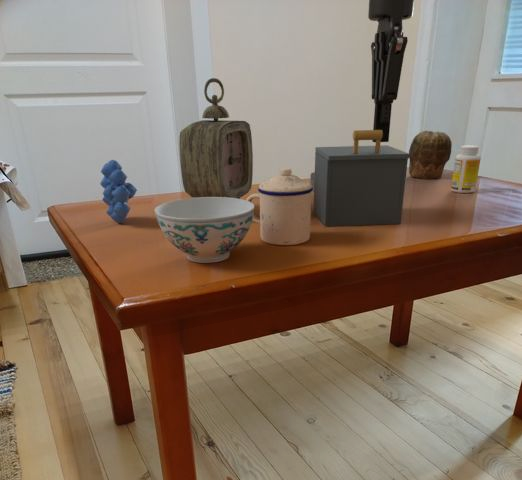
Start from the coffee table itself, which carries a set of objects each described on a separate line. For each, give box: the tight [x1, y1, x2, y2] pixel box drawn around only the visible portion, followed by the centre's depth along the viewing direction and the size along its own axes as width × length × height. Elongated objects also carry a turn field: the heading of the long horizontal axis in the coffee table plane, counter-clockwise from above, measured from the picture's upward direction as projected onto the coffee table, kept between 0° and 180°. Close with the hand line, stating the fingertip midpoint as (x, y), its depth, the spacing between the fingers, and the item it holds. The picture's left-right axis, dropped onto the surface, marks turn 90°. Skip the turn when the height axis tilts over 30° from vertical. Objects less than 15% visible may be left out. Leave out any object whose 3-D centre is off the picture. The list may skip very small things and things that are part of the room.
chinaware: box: [154, 197, 256, 264], centre depth 78 cm, size 15×15×8 cm
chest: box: [312, 151, 409, 227], centre depth 99 cm, size 13×15×12 cm
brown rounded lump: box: [408, 130, 453, 180], centre depth 139 cm, size 11×11×12 cm
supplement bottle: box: [450, 144, 482, 194], centre depth 121 cm, size 6×6×10 cm
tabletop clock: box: [178, 77, 254, 199], centre depth 100 cm, size 14×9×25 cm, turn 155°
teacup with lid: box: [246, 167, 313, 246], centre depth 86 cm, size 12×9×12 cm
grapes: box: [99, 159, 138, 224], centre depth 98 cm, size 12×7×12 cm, turn 30°
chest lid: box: [314, 129, 410, 161], centre depth 95 cm, size 13×15×5 cm
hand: (380, 141), depth 97 cm, fingers closed
